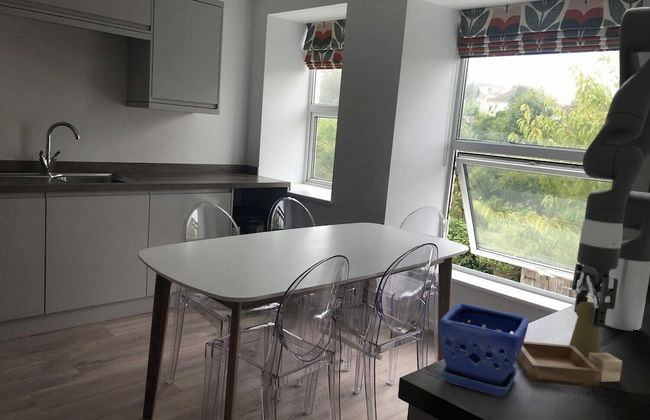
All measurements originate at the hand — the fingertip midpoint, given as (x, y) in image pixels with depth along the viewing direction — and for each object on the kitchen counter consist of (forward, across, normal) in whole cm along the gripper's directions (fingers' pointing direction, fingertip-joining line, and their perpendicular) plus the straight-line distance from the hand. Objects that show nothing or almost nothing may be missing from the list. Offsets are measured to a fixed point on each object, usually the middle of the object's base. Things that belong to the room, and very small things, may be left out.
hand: (588, 319), depth 112 cm
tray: (+8, -10, +10) cm, 16 cm away
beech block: (+8, -10, +1) cm, 13 cm away
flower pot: (+8, -18, +26) cm, 32 cm away
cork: (+8, 0, 0) cm, 8 cm away
